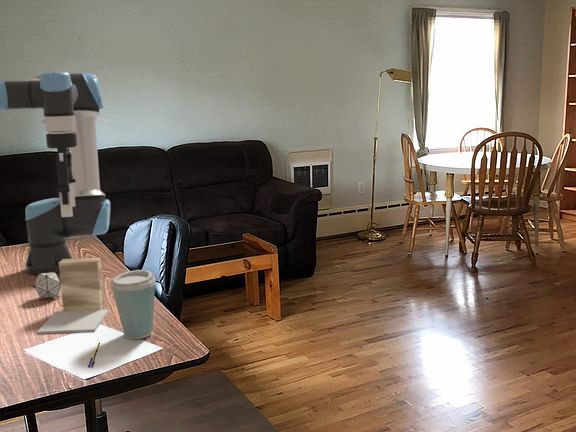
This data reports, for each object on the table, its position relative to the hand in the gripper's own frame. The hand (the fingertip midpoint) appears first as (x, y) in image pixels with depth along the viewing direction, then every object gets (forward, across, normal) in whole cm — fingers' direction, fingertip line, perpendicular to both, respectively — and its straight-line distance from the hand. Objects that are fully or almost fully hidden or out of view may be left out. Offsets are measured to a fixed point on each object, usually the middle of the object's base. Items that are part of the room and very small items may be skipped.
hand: (68, 211), depth 168 cm
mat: (+26, +14, 0) cm, 30 cm away
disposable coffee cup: (+26, +28, +15) cm, 41 cm away
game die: (+27, -8, -8) cm, 29 cm away
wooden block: (+26, +5, +2) cm, 27 cm away
